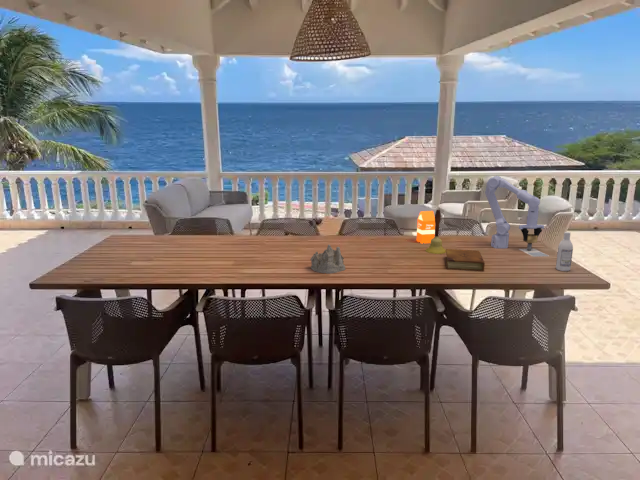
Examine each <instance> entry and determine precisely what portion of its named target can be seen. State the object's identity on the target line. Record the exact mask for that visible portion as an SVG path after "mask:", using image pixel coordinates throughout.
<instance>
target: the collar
mask: <svg viewBox="0 0 640 480" xmlns="http://www.w3.org/2000/svg"><path fill="white" fill-rule="evenodd" d="M538 237H539V236H536V235H534V233H528V235H527V241H524V238H522V241H523V242H525V243H527V244H528V243H532V244H535V243H536V244H537V243H538Z"/></svg>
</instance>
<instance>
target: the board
mask: <svg viewBox="0 0 640 480" xmlns="http://www.w3.org/2000/svg"><path fill="white" fill-rule="evenodd" d="M518 250H519V251H520V252H521V251H522V252H523V253H525V254H527V255H529V256H530V257H549V254H547V253H544V252H542V251H540V250H538V249H537V248H532V249H531V251H528V250H527V248H518Z"/></svg>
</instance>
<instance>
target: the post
mask: <svg viewBox="0 0 640 480" xmlns="http://www.w3.org/2000/svg"><path fill="white" fill-rule="evenodd" d="M532 247H533V243H527V246H526V249H527V250H528V251H531V249H533V248H532Z"/></svg>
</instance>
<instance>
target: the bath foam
mask: <svg viewBox="0 0 640 480" xmlns="http://www.w3.org/2000/svg"><path fill="white" fill-rule="evenodd" d="M573 250H574V246H573V242H572V241H571V232H570V231H564V233H563V239H561V241H560V242H559V244H558V247H557V256H556V264H555V269H556V270H557V271H562V272H569V271H570V270H571V268H572V259H573V252H574V251H573Z"/></svg>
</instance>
